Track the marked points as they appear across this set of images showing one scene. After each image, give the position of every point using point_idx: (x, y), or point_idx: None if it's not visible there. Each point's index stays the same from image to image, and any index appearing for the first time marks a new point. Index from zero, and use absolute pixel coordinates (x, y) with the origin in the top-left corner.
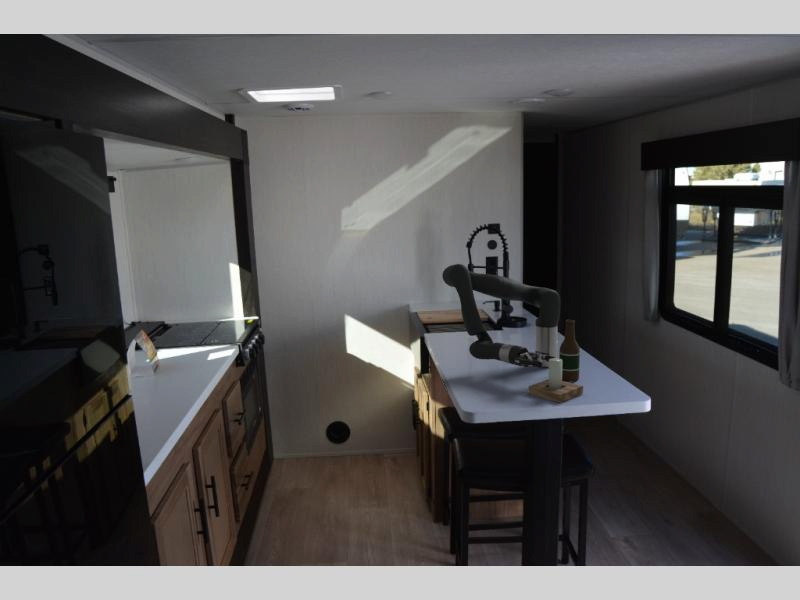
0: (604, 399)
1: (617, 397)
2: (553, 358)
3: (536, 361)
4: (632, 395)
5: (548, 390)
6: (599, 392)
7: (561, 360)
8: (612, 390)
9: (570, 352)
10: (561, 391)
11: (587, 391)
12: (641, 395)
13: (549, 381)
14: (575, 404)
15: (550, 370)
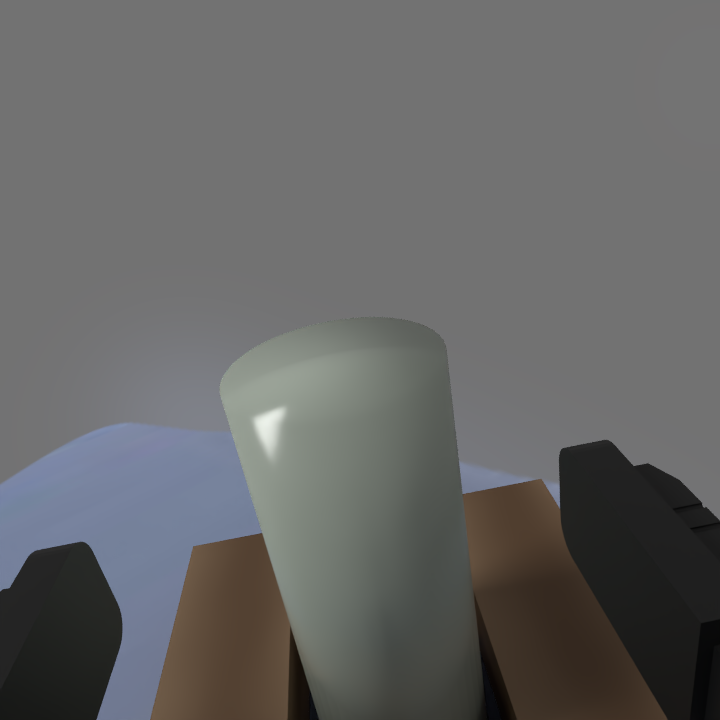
0: (237, 476)
1: (154, 471)
2: (274, 412)
3: (670, 519)
4: (74, 463)
5: (581, 602)
6: (105, 568)
7: (292, 335)
8: (13, 557)
9: None
10: (473, 528)
11: (125, 626)
12: (54, 450)
13: (475, 641)
14: (463, 483)
15: (461, 492)
